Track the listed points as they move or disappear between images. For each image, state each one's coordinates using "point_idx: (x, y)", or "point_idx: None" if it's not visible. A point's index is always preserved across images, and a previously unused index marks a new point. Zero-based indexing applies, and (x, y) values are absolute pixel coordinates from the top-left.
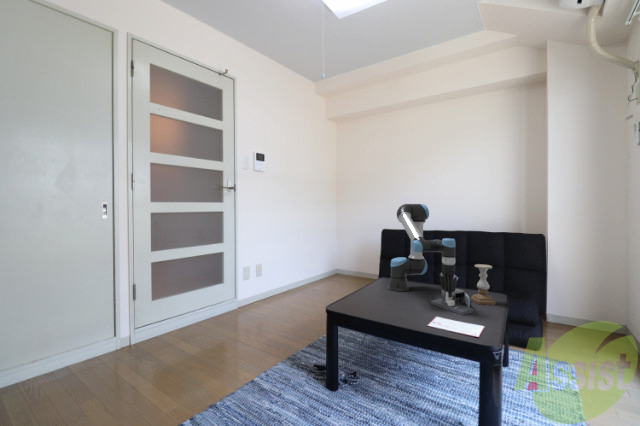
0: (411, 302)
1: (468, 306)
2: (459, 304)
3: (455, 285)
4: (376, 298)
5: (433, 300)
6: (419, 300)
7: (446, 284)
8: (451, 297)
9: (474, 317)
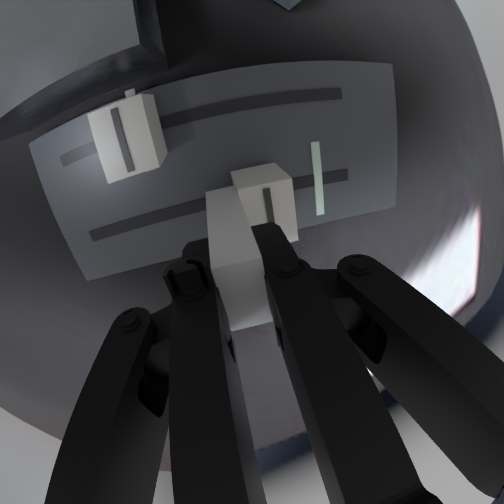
0: (74, 349)
1: (292, 5)
2: (249, 68)
3: (469, 361)
4: (53, 412)
5: (75, 254)
6: (27, 292)
7: (253, 448)
8: (145, 109)
9: (429, 155)
